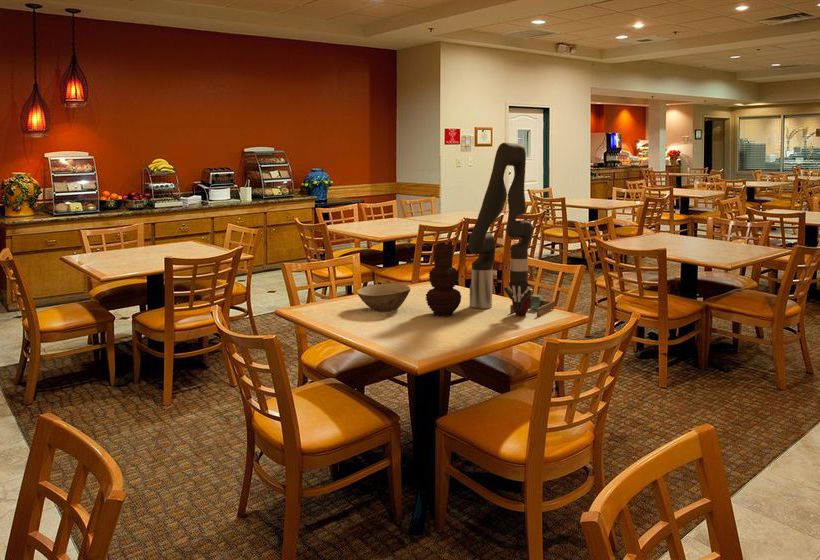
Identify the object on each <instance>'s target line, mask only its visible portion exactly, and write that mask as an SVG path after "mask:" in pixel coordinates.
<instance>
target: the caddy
mask: <svg viewBox="0 0 820 560" xmlns="http://www.w3.org/2000/svg"><path fill="white" fill-rule="evenodd" d="M509 308H510V311H509V312H510V313H509V314H515V311H514V309H513V304H510V307H509ZM529 308H531V299H530V304H529ZM551 309H554V310H555V301H552V300H546V299H545V300H544V299H543V306H542V307H540V308H537V310H536V318H540V317H541V315H542V316H543V314H544V315H545V313H546V314H547V312H548V313H549V311H550V310H551ZM550 312H551V311H550Z"/></svg>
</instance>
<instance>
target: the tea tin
mask: <svg viewBox="0 0 820 560" xmlns="http://www.w3.org/2000/svg"><path fill="white" fill-rule="evenodd" d="M543 300H544V295H542V294H541V295H540V294H533V295H531V307H530V310H534V311H537V308H540V307H542V305H543Z"/></svg>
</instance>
